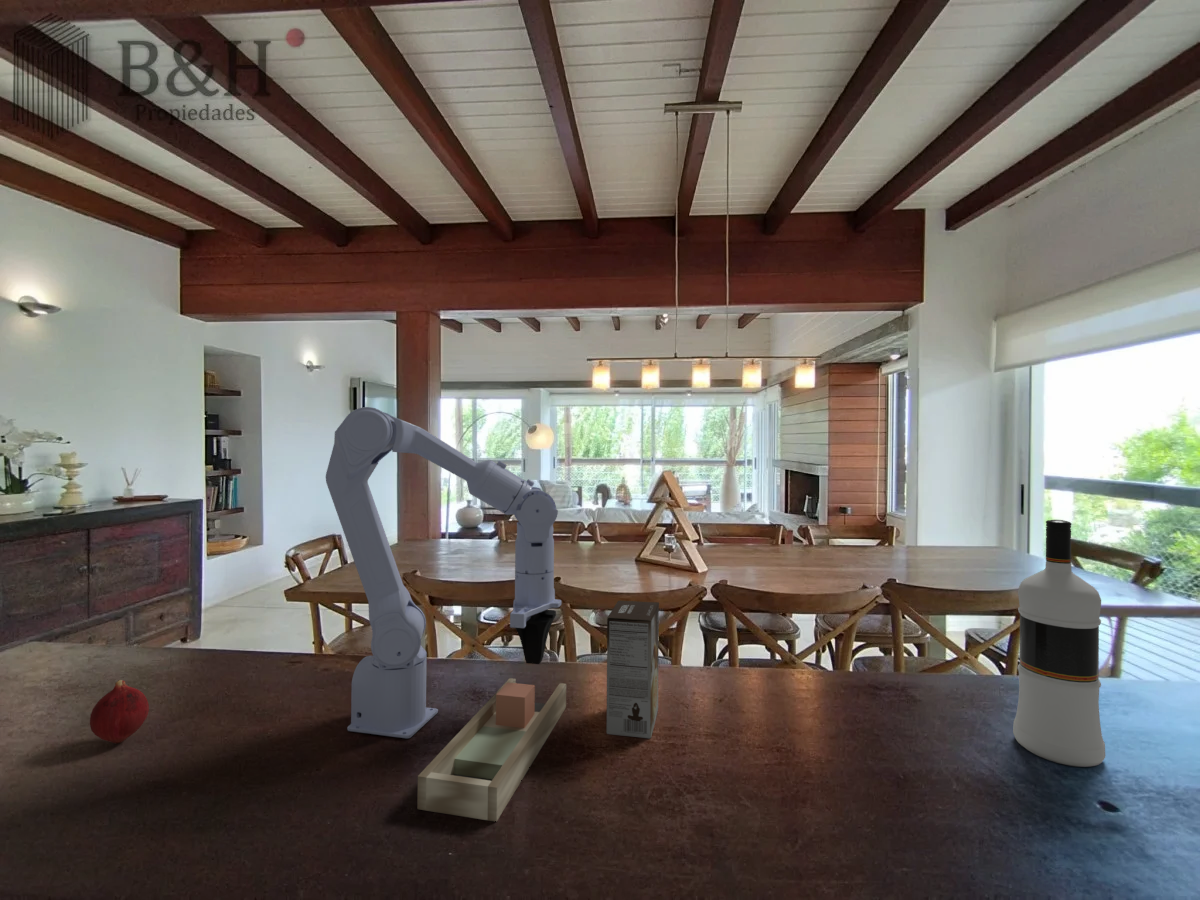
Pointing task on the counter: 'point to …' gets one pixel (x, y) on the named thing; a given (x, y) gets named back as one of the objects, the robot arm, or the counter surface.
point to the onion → (119, 713)
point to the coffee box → (632, 668)
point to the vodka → (1059, 660)
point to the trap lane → (486, 761)
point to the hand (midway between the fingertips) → (534, 662)
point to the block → (515, 705)
